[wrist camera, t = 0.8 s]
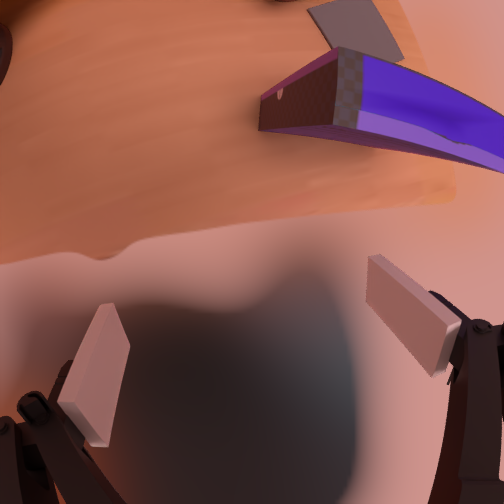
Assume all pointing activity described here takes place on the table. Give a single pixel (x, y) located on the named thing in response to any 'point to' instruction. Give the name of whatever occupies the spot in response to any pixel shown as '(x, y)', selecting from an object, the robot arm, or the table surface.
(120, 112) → the table surface
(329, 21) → the rubber mat
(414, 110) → the cereal box
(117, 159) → the table surface
